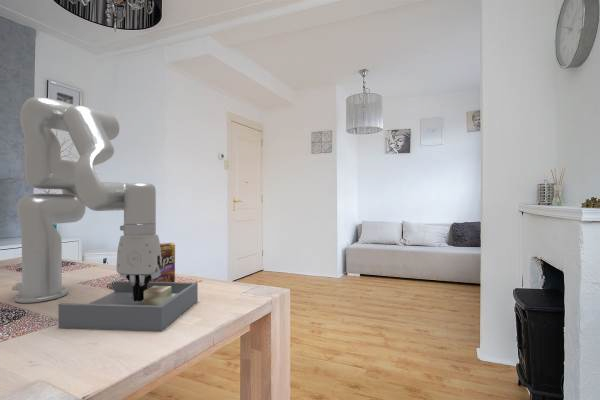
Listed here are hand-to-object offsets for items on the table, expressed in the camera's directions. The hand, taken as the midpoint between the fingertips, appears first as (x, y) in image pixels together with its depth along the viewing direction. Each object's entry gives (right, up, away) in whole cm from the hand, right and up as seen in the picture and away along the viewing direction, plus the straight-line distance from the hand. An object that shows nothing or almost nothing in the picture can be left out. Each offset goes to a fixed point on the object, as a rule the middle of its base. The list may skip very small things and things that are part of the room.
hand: (140, 299), depth 84 cm
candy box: (-4, -4, +21) cm, 22 cm away
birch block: (+5, -1, 0) cm, 5 cm away
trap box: (-2, -4, 0) cm, 4 cm away
